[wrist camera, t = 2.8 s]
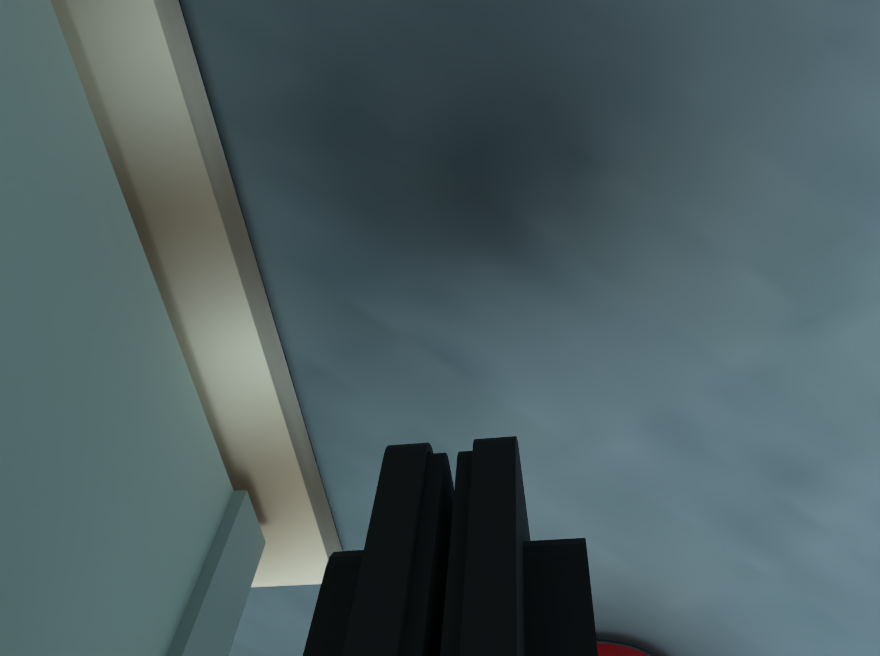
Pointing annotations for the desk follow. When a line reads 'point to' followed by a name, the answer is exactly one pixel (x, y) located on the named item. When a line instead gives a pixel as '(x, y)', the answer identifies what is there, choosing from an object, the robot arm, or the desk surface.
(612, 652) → the beverage can
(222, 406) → the gate base
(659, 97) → the desk surface
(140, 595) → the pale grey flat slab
